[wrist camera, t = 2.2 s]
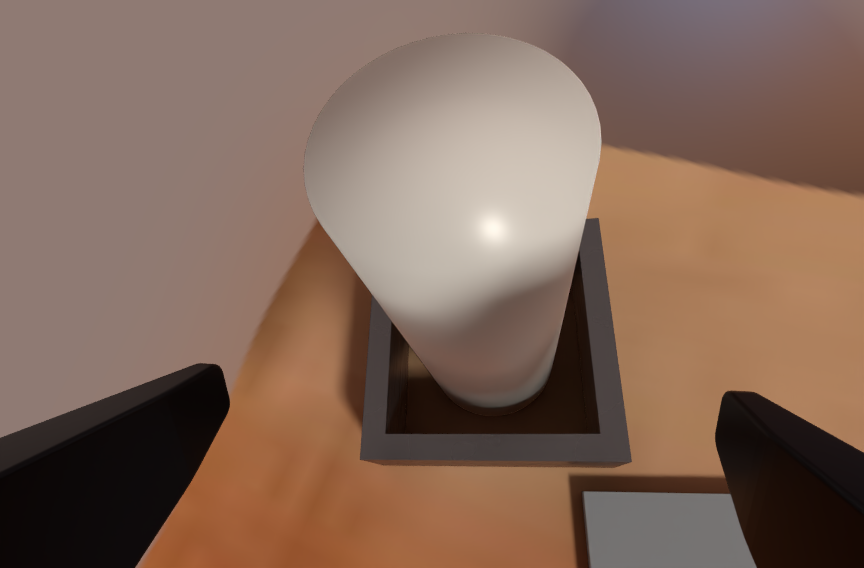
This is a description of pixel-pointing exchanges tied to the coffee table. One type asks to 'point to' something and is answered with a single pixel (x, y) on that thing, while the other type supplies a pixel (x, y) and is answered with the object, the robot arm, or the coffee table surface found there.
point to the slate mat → (663, 531)
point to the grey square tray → (593, 449)
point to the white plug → (462, 204)
